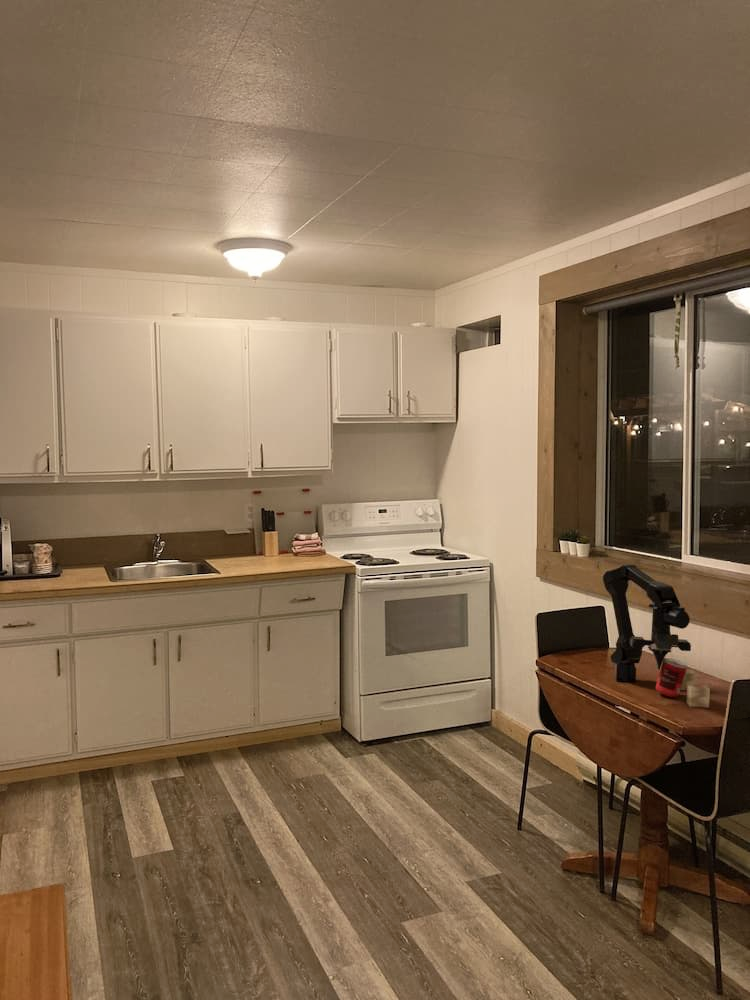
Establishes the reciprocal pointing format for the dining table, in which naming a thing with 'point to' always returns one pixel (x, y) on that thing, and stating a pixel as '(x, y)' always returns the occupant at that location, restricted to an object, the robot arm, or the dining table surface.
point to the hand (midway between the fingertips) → (658, 669)
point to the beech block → (698, 695)
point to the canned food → (671, 677)
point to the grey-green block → (688, 679)
